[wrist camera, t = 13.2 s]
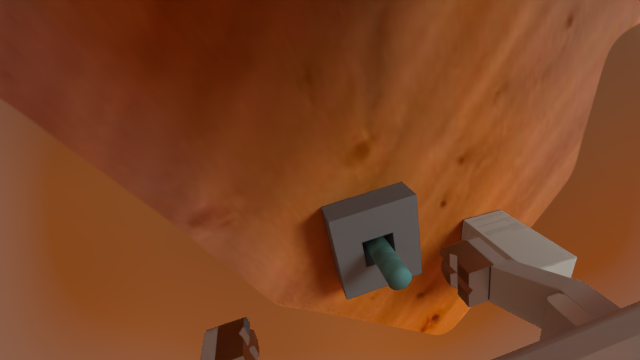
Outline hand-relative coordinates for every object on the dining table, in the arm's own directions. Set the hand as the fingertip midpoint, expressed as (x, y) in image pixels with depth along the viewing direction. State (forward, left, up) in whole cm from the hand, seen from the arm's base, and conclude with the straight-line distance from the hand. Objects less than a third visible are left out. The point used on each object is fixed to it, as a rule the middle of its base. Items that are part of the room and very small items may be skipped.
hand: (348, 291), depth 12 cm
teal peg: (-9, +19, -26) cm, 33 cm away
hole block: (-8, +19, -26) cm, 33 cm away
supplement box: (-27, +26, -26) cm, 46 cm away
